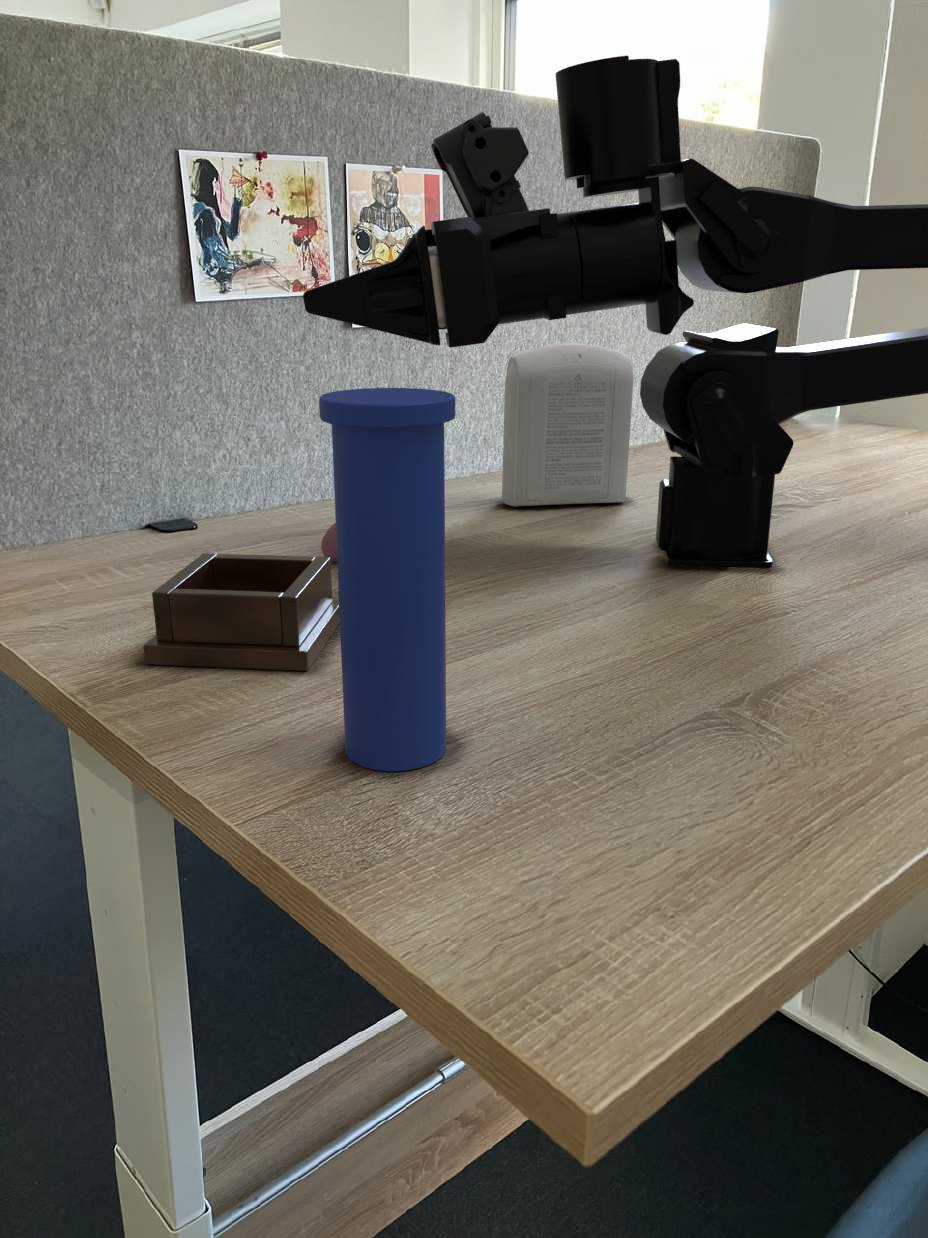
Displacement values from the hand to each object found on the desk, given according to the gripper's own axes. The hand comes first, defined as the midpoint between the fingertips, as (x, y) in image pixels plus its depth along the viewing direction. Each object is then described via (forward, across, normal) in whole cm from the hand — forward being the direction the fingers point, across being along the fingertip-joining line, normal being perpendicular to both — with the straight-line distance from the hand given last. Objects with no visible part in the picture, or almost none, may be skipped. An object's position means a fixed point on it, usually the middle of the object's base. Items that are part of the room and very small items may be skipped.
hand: (310, 299), depth 60 cm
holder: (+5, +14, +16) cm, 21 cm away
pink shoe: (-2, -4, +17) cm, 17 cm away
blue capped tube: (-2, +27, +17) cm, 32 cm away
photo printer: (-16, -16, +19) cm, 30 cm away
